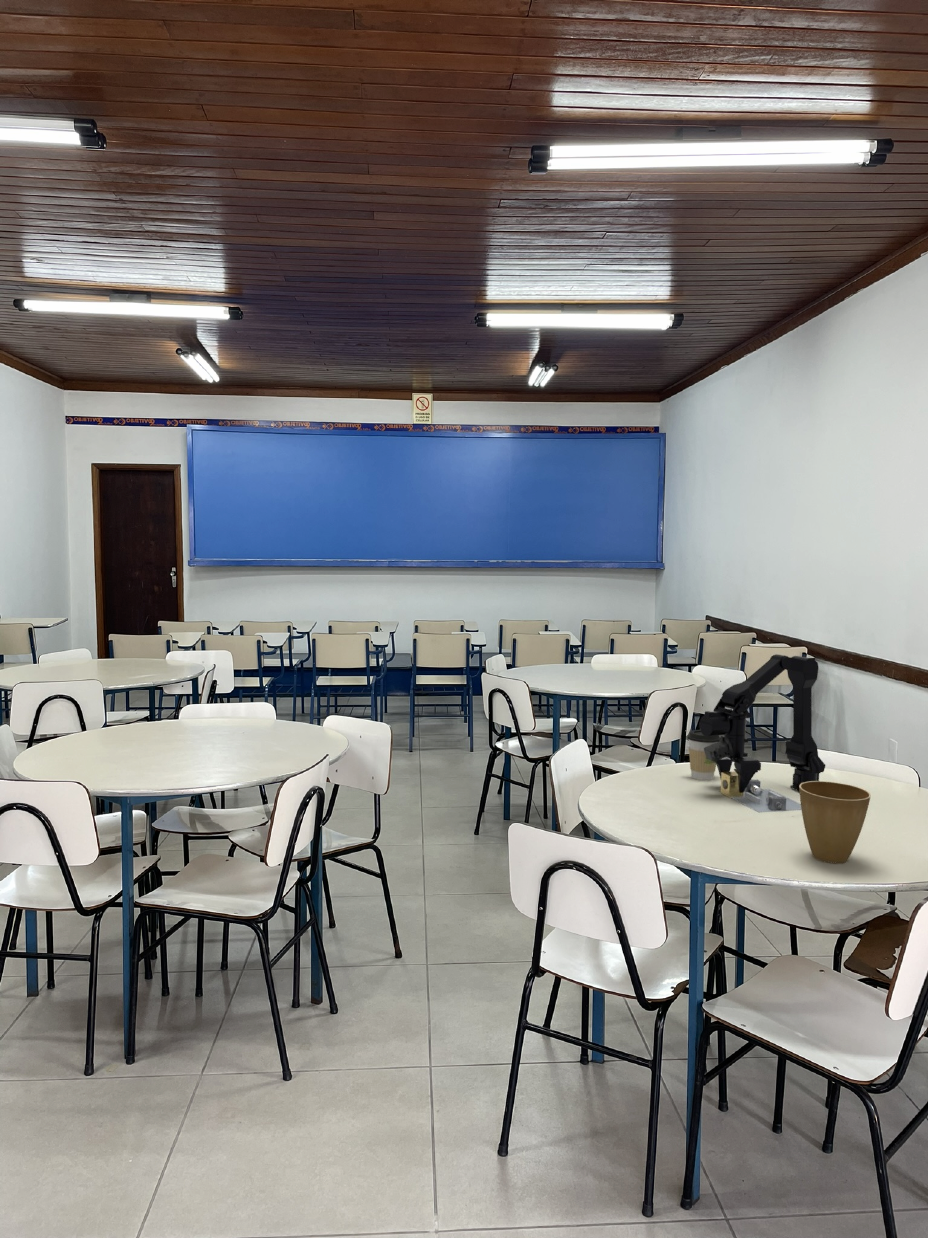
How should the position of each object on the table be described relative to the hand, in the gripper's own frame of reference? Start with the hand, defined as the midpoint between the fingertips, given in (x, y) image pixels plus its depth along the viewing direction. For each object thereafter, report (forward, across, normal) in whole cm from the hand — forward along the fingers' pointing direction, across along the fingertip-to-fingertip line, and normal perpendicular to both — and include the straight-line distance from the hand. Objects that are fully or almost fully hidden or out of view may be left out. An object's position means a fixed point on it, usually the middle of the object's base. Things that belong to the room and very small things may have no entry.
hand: (732, 788), depth 240 cm
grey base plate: (+3, +6, +6) cm, 9 cm away
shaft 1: (+2, 0, +7) cm, 7 cm away
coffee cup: (+3, -18, +1) cm, 19 cm away
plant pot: (+3, +48, -3) cm, 48 cm away
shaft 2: (+2, +13, +5) cm, 14 cm away
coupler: (+2, 0, 0) cm, 2 cm away
